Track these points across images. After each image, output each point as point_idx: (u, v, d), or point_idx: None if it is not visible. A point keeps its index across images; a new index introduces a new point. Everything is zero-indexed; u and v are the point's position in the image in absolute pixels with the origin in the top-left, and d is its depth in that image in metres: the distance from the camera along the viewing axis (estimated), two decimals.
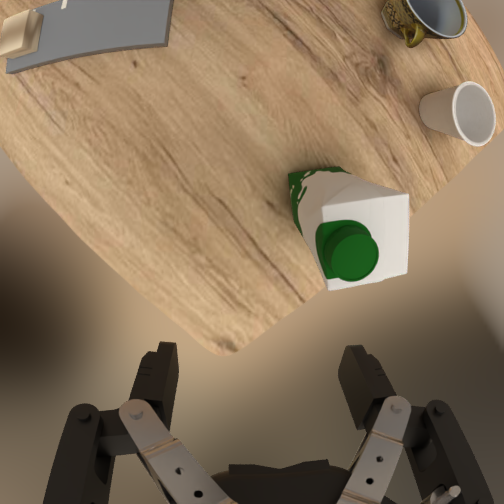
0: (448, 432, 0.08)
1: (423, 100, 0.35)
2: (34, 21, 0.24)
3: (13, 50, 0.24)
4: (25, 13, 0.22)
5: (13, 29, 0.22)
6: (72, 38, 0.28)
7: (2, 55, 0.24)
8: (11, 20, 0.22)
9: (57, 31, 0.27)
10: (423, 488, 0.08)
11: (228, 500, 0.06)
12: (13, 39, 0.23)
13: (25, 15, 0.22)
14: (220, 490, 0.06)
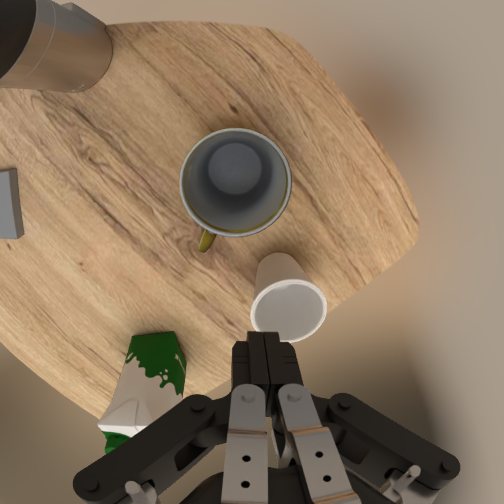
0: (368, 422, 0.09)
1: (258, 267, 0.40)
2: None
3: None
4: None
5: None
6: None
7: None
8: None
9: None
10: (370, 476, 0.09)
11: (264, 503, 0.06)
12: None
13: None
14: (266, 492, 0.06)
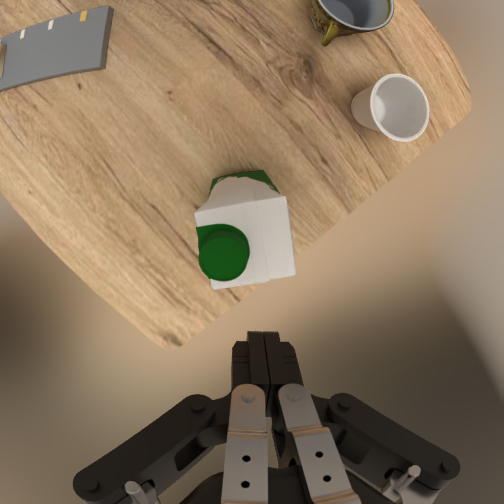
0: (368, 422, 0.09)
1: (354, 98, 0.37)
2: None
3: None
4: None
5: None
6: (28, 66, 0.30)
7: None
8: None
9: (17, 59, 0.30)
10: (370, 476, 0.09)
11: (264, 503, 0.06)
12: None
13: None
14: (265, 492, 0.06)
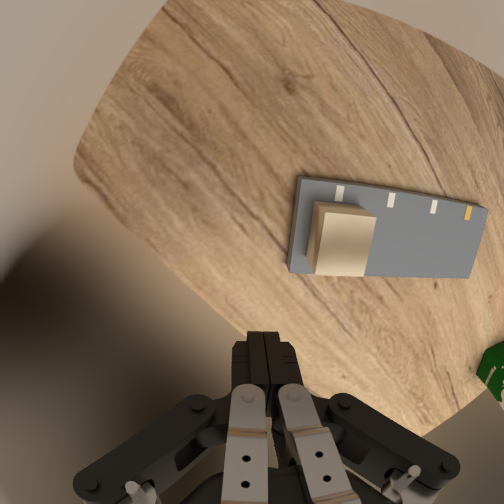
0: (368, 422, 0.09)
1: None
2: None
3: None
4: (369, 221, 0.27)
5: (347, 241, 0.27)
6: (397, 256, 0.33)
7: None
8: (342, 222, 0.26)
9: (380, 240, 0.32)
10: (370, 476, 0.09)
11: (264, 503, 0.06)
12: (349, 259, 0.28)
13: (370, 226, 0.27)
14: (266, 492, 0.06)
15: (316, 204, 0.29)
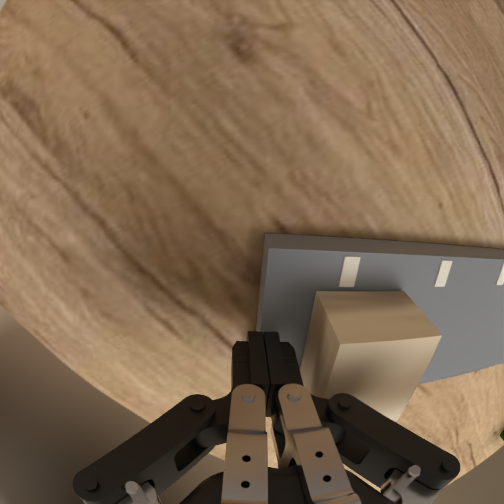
0: (368, 422, 0.09)
1: None
2: None
3: None
4: (427, 345, 0.11)
5: (379, 383, 0.12)
6: (437, 356, 0.18)
7: None
8: (374, 356, 0.11)
9: None
10: (370, 476, 0.09)
11: (264, 503, 0.06)
12: (377, 406, 0.13)
13: (427, 352, 0.12)
14: (266, 491, 0.06)
15: (320, 302, 0.14)
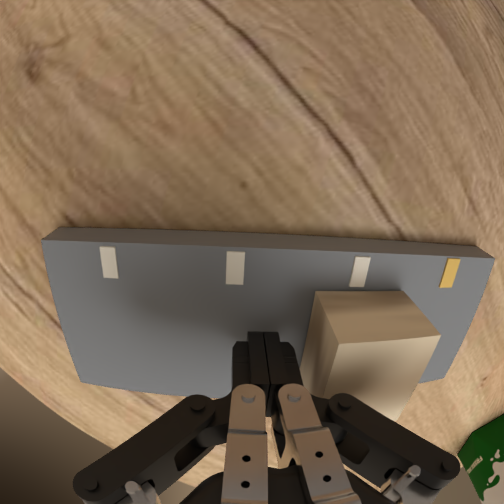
0: (368, 422, 0.09)
1: None
2: None
3: None
4: (426, 345, 0.11)
5: (379, 382, 0.12)
6: None
7: None
8: (373, 356, 0.11)
9: (226, 345, 0.16)
10: (370, 476, 0.09)
11: (264, 503, 0.06)
12: (376, 406, 0.13)
13: (426, 352, 0.12)
14: (266, 491, 0.06)
15: (319, 302, 0.14)
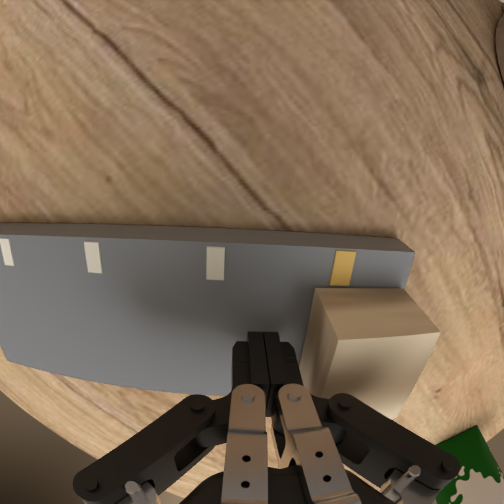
0: (368, 422, 0.09)
1: None
2: None
3: None
4: (426, 342, 0.11)
5: (378, 379, 0.12)
6: (155, 362, 0.16)
7: None
8: (373, 352, 0.11)
9: (103, 332, 0.15)
10: (370, 476, 0.09)
11: (264, 503, 0.06)
12: (375, 403, 0.13)
13: (425, 349, 0.12)
14: (266, 492, 0.06)
15: (318, 299, 0.14)
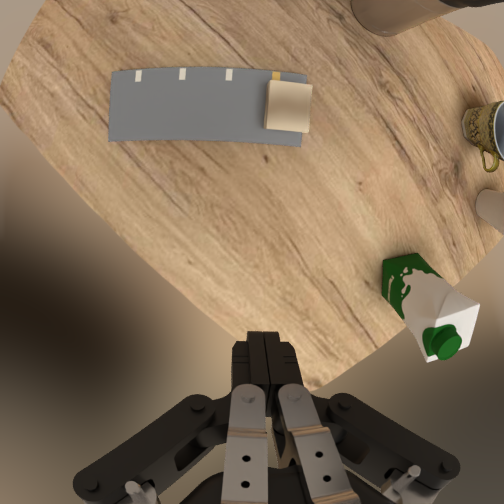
0: (368, 422, 0.09)
1: (480, 197, 0.44)
2: None
3: (293, 130, 0.34)
4: (306, 87, 0.32)
5: (290, 102, 0.33)
6: (199, 121, 0.37)
7: None
8: (284, 87, 0.32)
9: (178, 107, 0.36)
10: (370, 476, 0.09)
11: (264, 503, 0.06)
12: (293, 116, 0.33)
13: (308, 91, 0.32)
14: (266, 492, 0.06)
15: (267, 84, 0.35)
